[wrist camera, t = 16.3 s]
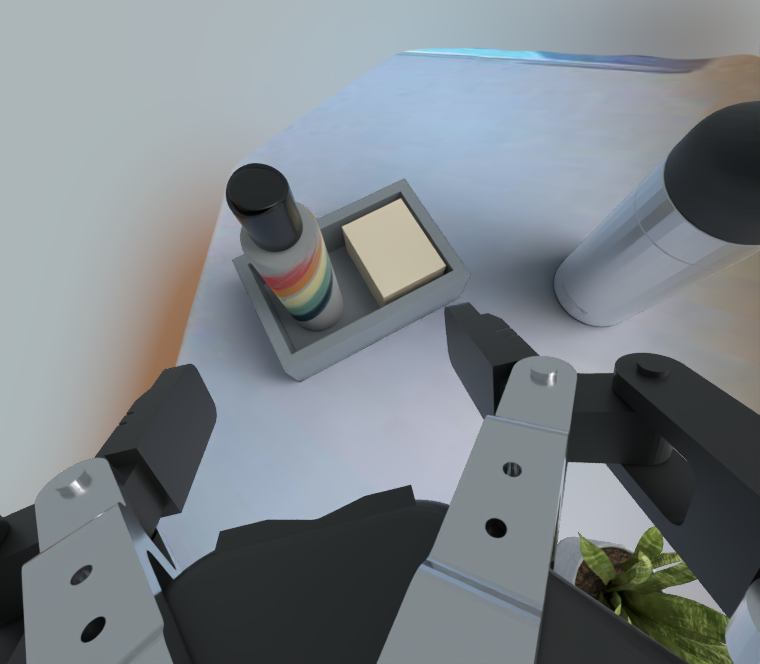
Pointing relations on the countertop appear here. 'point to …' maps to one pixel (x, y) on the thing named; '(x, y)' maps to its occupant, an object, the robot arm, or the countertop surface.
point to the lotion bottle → (285, 245)
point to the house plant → (646, 593)
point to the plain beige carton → (392, 252)
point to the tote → (353, 292)
